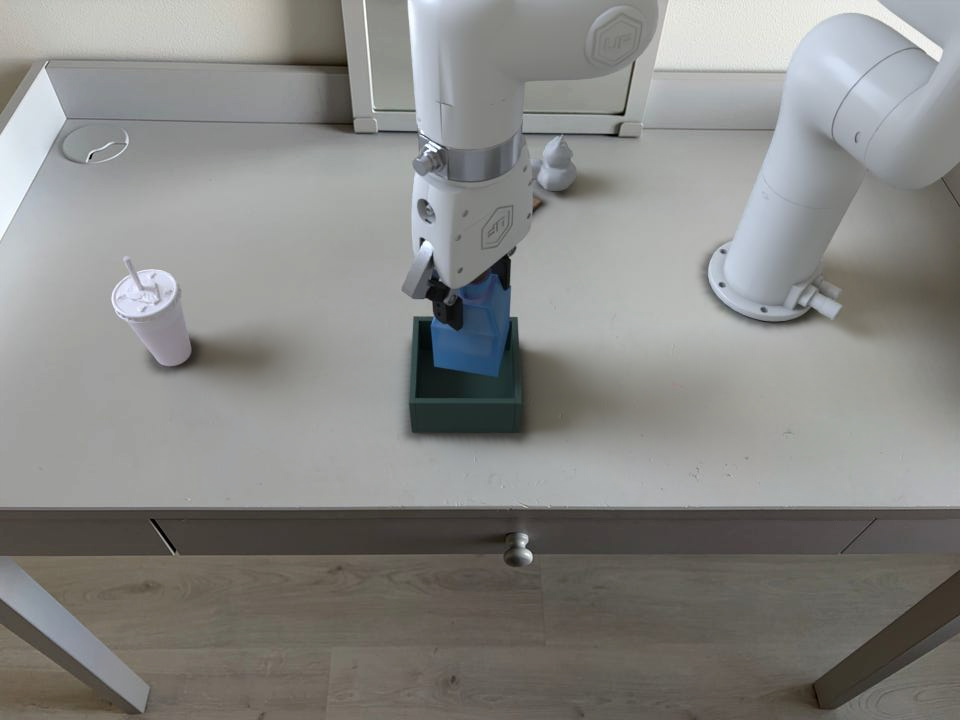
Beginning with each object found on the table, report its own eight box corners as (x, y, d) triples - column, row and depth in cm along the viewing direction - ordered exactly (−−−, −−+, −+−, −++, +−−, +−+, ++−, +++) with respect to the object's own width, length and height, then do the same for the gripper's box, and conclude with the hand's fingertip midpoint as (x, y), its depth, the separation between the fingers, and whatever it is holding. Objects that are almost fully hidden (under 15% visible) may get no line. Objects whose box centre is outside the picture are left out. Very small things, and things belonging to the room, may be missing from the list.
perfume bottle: (497, 377, 74) (500, 293, 64) (434, 366, 75) (427, 282, 65) (509, 327, 78) (513, 241, 68) (448, 317, 78) (444, 231, 69)
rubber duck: (575, 199, 99) (583, 148, 93) (524, 198, 99) (528, 147, 93) (573, 171, 103) (580, 120, 96) (523, 170, 103) (527, 119, 96)
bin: (514, 347, 85) (517, 316, 81) (518, 432, 78) (522, 403, 74) (415, 347, 85) (413, 316, 80) (411, 432, 78) (408, 403, 74)
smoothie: (179, 320, 86) (137, 227, 75) (216, 349, 84) (179, 258, 73) (130, 355, 83) (79, 263, 72) (167, 387, 81) (121, 297, 70)
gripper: (423, 224, 51) (435, 381, 66) (583, 106, 58) (563, 270, 73) (346, 173, 54) (374, 334, 69) (508, 66, 61) (503, 232, 76)
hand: (471, 300), depth 71 cm, fingers closed on perfume bottle, 5 cm apart
